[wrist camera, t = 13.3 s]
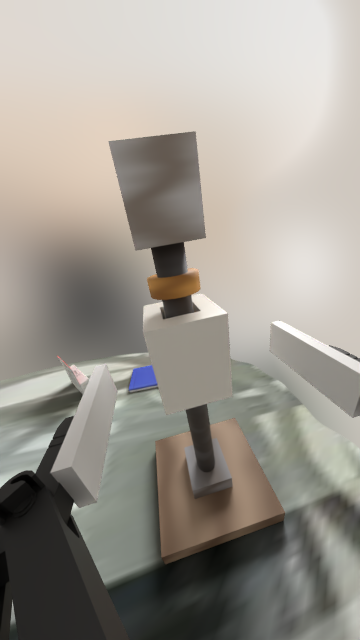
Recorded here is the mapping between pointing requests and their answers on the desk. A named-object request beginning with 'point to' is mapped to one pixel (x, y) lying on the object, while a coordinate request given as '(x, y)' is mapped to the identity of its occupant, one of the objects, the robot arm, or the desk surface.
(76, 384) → the ink cartridge box
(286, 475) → the desk surface
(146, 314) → the sleeve
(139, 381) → the hard drive
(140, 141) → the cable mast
